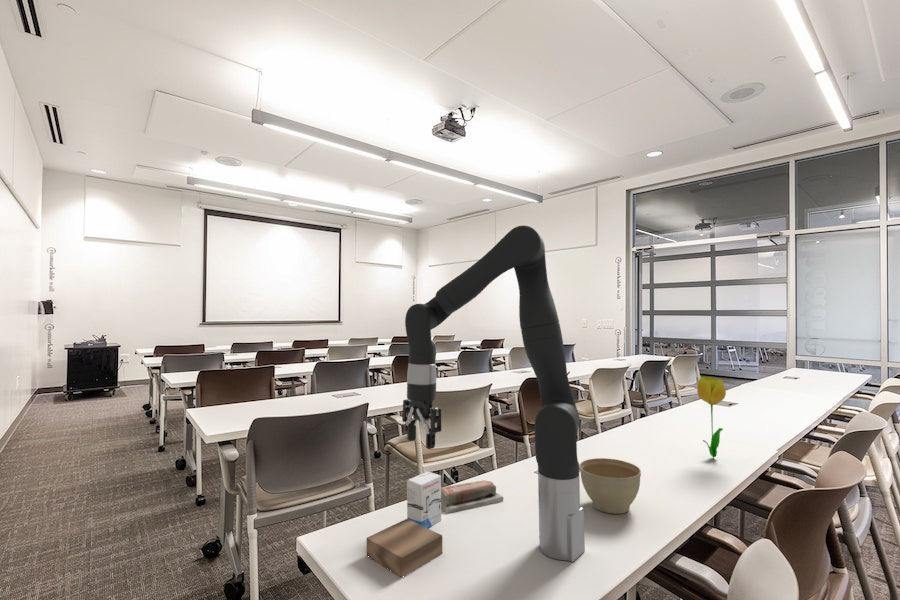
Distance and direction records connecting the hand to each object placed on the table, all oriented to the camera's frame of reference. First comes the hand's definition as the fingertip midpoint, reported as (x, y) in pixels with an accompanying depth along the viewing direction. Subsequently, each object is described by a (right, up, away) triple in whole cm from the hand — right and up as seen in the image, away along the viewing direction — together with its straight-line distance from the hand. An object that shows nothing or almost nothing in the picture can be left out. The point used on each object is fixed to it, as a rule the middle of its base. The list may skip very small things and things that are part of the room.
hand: (420, 443), depth 109 cm
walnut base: (-3, -20, -14) cm, 25 cm away
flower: (+105, -22, +47) cm, 117 cm away
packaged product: (+13, -22, +14) cm, 29 cm away
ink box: (+1, -21, 0) cm, 21 cm away
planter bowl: (+52, -21, +9) cm, 57 cm away
